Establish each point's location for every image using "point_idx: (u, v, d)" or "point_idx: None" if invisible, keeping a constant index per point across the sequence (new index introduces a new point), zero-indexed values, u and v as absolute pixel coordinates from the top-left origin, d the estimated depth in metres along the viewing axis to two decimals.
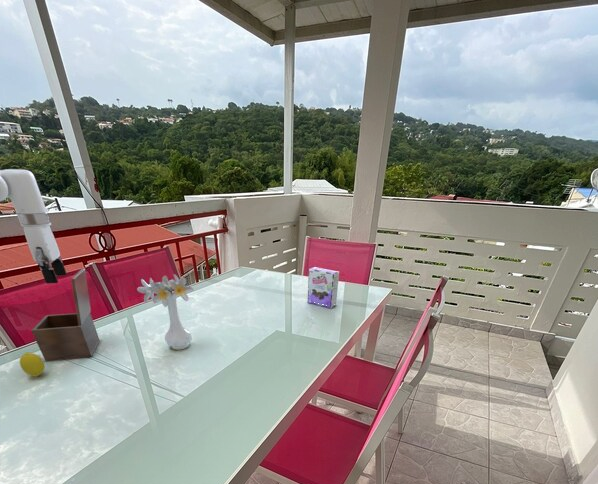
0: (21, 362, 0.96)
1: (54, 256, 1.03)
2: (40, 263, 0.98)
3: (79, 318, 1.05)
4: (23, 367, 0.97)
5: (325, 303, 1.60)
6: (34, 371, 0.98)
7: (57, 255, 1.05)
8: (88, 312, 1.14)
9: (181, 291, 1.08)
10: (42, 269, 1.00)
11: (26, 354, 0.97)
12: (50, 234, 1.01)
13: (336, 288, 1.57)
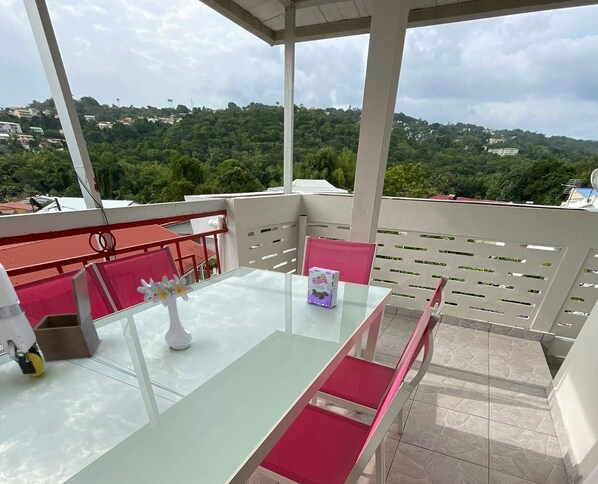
0: None
1: (28, 345, 0.95)
2: (16, 359, 0.92)
3: (79, 318, 1.05)
4: None
5: (325, 303, 1.60)
6: None
7: (32, 342, 0.97)
8: (88, 312, 1.14)
9: (181, 291, 1.08)
10: (19, 362, 0.94)
11: None
12: (24, 322, 0.93)
13: (336, 288, 1.57)
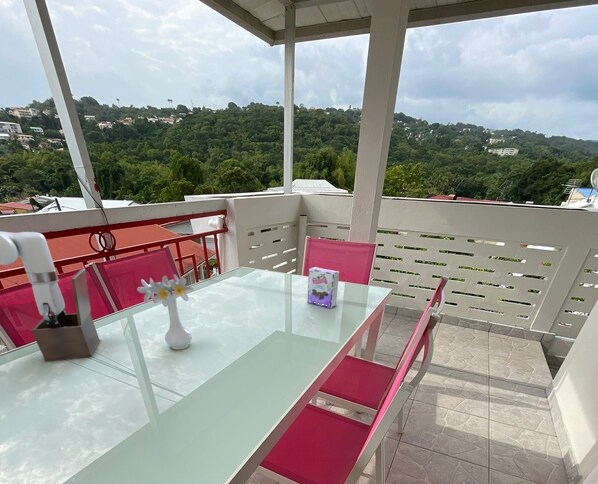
0: None
1: (59, 309, 1.07)
2: (48, 319, 1.02)
3: (79, 318, 1.05)
4: None
5: (325, 303, 1.60)
6: None
7: (62, 307, 1.09)
8: (88, 312, 1.14)
9: (181, 291, 1.08)
10: (49, 324, 1.05)
11: None
12: (57, 289, 1.06)
13: (336, 288, 1.57)
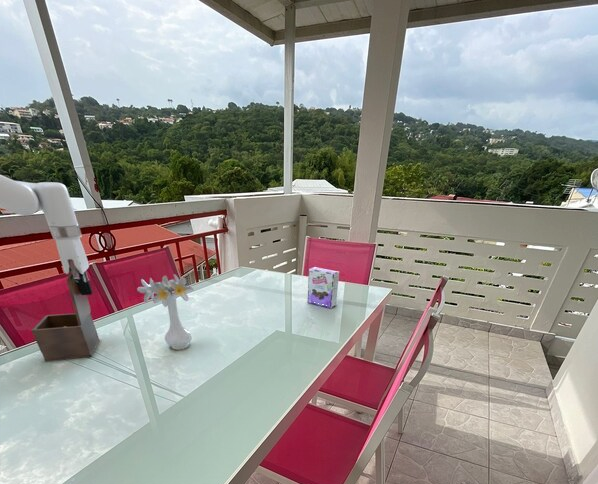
0: None
1: (84, 268, 1.02)
2: (78, 279, 1.02)
3: (78, 318, 1.05)
4: None
5: (325, 303, 1.60)
6: None
7: (86, 267, 1.05)
8: (88, 312, 1.14)
9: (181, 291, 1.08)
10: (78, 282, 1.04)
11: None
12: (80, 246, 1.01)
13: (336, 288, 1.57)
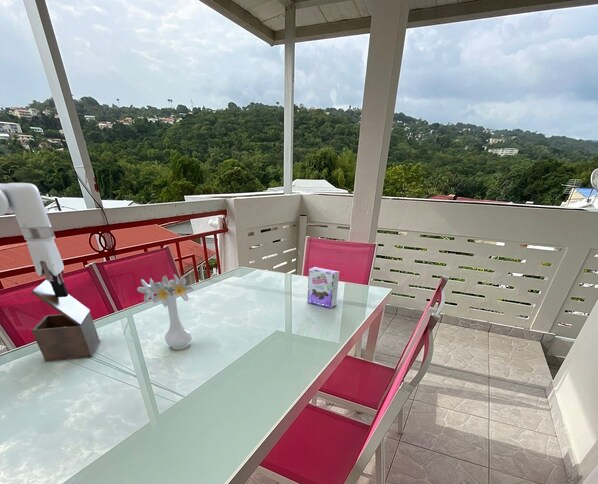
0: None
1: (58, 270, 1.01)
2: (51, 281, 1.00)
3: (73, 320, 1.05)
4: None
5: (325, 303, 1.60)
6: None
7: (61, 268, 1.03)
8: (86, 312, 1.14)
9: (181, 291, 1.08)
10: (52, 284, 1.02)
11: None
12: (54, 247, 0.99)
13: (336, 288, 1.57)
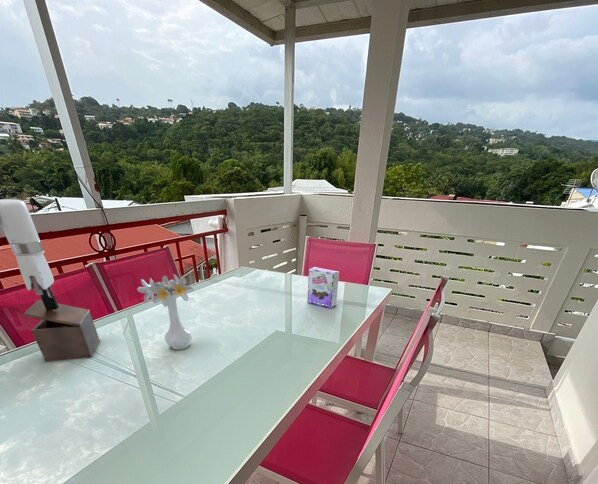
0: None
1: (48, 283, 1.02)
2: (41, 294, 1.02)
3: (71, 323, 1.05)
4: None
5: (325, 303, 1.60)
6: None
7: (51, 282, 1.04)
8: (84, 312, 1.14)
9: (181, 291, 1.08)
10: (42, 297, 1.04)
11: None
12: (43, 262, 1.01)
13: (336, 288, 1.57)
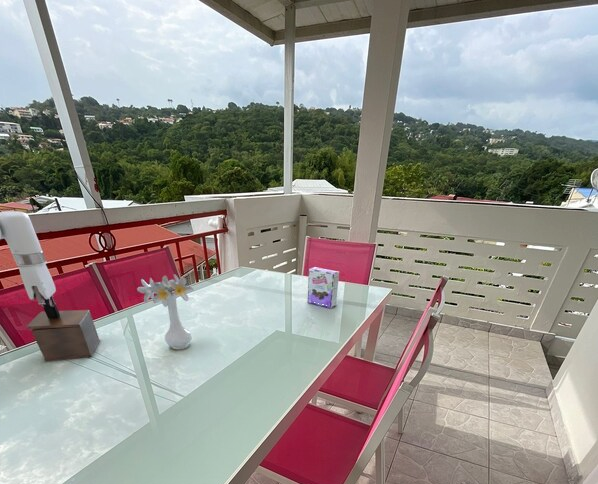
0: None
1: (50, 293, 1.04)
2: (43, 304, 1.03)
3: (71, 325, 1.06)
4: None
5: (325, 303, 1.60)
6: None
7: (53, 291, 1.06)
8: (84, 313, 1.14)
9: (181, 291, 1.08)
10: (44, 306, 1.05)
11: None
12: (46, 272, 1.02)
13: (336, 288, 1.57)
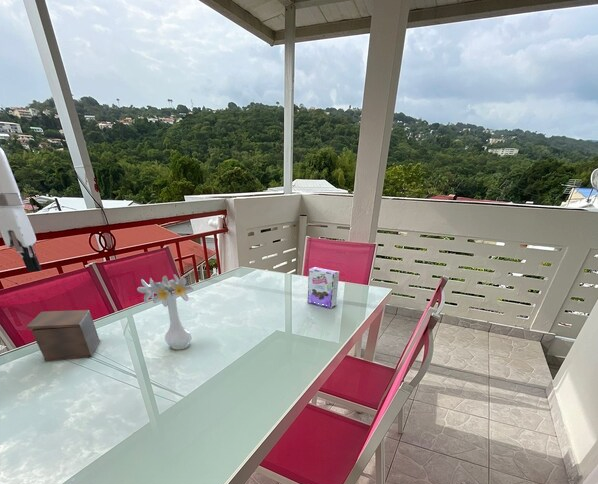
0: None
1: (29, 241, 0.95)
2: (21, 253, 0.95)
3: (71, 325, 1.06)
4: None
5: (325, 303, 1.60)
6: None
7: (33, 240, 0.98)
8: (84, 313, 1.14)
9: (181, 291, 1.08)
10: (23, 256, 0.97)
11: None
12: (24, 217, 0.94)
13: (336, 288, 1.57)
